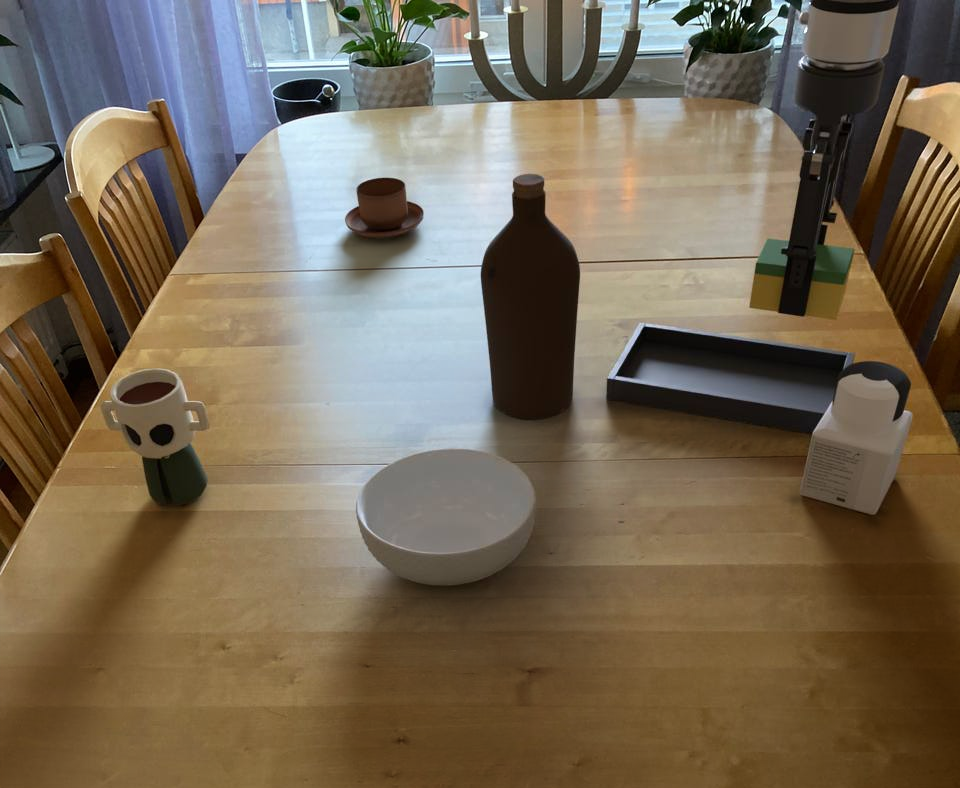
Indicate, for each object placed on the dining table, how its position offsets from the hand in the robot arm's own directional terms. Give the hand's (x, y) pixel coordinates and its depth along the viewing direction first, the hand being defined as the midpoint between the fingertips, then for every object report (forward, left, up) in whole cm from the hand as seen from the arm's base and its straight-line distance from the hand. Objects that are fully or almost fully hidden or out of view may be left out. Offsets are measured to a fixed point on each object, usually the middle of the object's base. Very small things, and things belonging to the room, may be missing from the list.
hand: (797, 298), depth 107 cm
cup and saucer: (+65, -29, -12) cm, 72 cm away
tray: (+6, 0, -12) cm, 13 cm away
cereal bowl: (+25, +38, -12) cm, 47 cm away
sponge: (0, 0, 0) cm, 0 cm away
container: (-10, +15, -12) cm, 21 cm away
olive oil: (+27, +9, -12) cm, 31 cm away
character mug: (+57, +38, -12) cm, 69 cm away
